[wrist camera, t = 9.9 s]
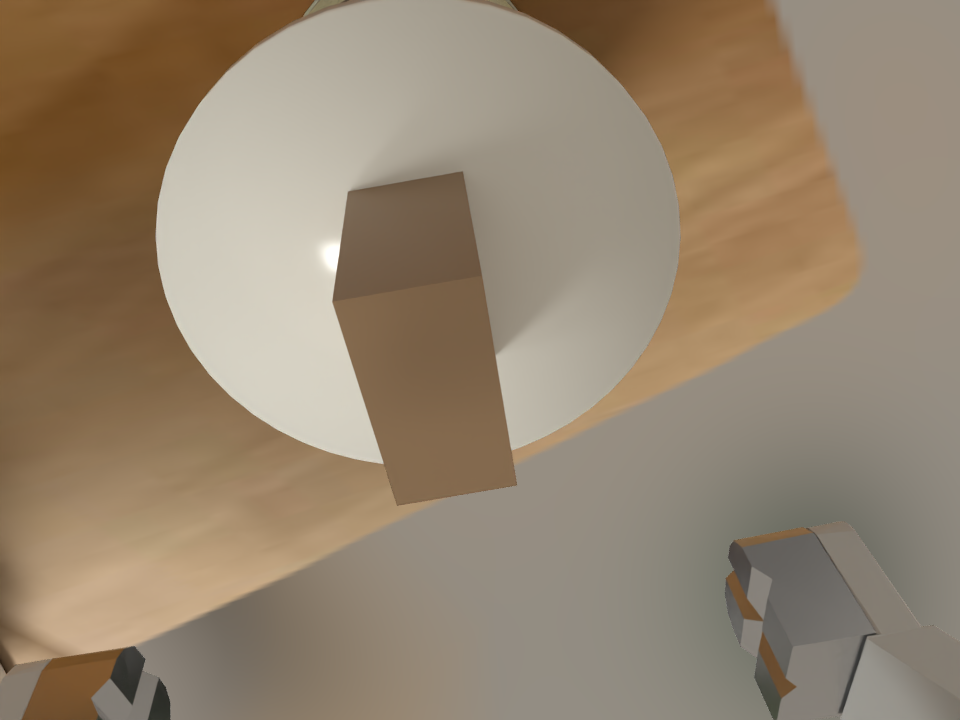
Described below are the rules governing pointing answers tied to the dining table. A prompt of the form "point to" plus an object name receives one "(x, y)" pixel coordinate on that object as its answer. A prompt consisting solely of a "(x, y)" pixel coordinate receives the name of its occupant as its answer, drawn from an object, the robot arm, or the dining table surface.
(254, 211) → the lid
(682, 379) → the dining table surface
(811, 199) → the dining table surface
